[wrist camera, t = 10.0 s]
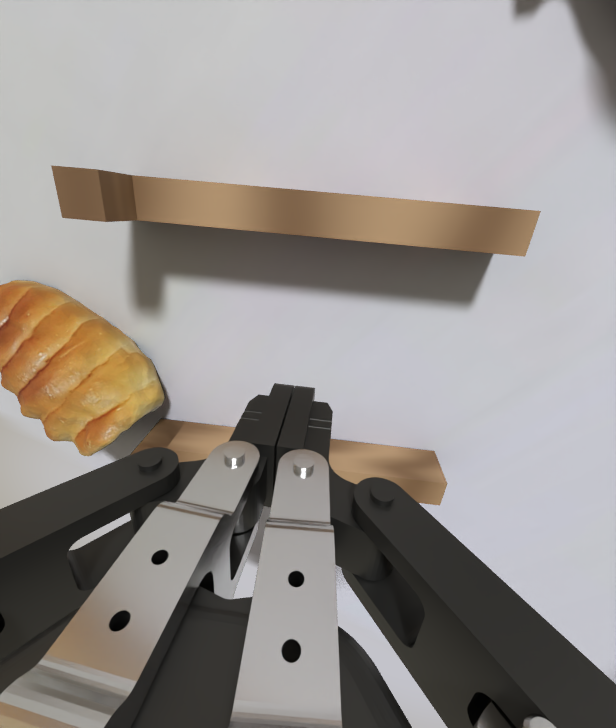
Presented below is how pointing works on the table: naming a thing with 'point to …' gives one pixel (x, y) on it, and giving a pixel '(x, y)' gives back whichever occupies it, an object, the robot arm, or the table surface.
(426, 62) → the table surface
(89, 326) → the pastry
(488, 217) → the pair of wooden bars
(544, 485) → the table surface
